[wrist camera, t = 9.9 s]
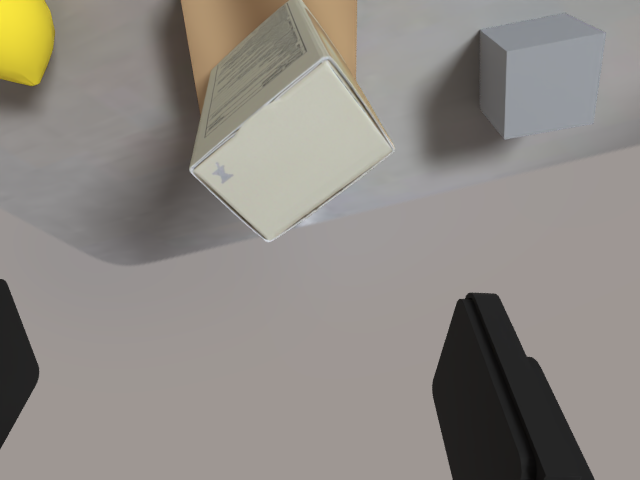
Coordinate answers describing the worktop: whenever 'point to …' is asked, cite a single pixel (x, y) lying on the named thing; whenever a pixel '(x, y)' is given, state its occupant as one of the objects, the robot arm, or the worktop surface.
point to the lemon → (25, 40)
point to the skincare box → (284, 125)
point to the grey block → (540, 74)
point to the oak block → (244, 17)
